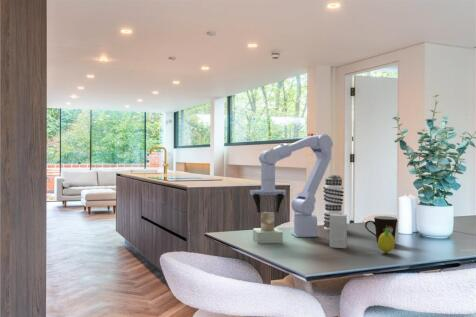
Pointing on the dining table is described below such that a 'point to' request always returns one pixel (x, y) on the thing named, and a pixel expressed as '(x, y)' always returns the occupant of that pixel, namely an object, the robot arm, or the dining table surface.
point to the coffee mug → (383, 225)
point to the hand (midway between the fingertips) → (267, 212)
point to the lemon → (386, 241)
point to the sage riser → (267, 236)
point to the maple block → (267, 221)
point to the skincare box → (338, 231)
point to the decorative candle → (332, 198)
